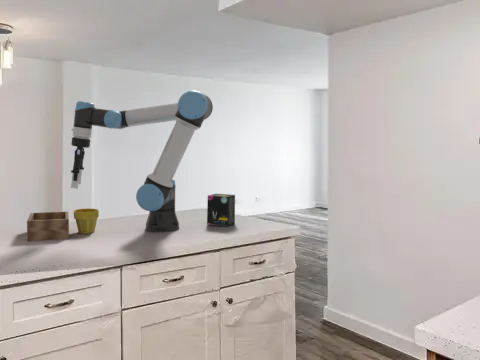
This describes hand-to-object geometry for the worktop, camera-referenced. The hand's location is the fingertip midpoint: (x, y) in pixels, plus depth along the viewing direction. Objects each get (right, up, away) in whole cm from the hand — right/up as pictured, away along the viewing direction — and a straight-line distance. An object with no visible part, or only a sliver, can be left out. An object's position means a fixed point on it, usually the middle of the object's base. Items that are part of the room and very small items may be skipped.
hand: (75, 186), depth 200 cm
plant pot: (+4, -20, +1) cm, 21 cm away
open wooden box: (-9, -20, -5) cm, 23 cm away
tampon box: (+62, -19, +23) cm, 69 cm away
